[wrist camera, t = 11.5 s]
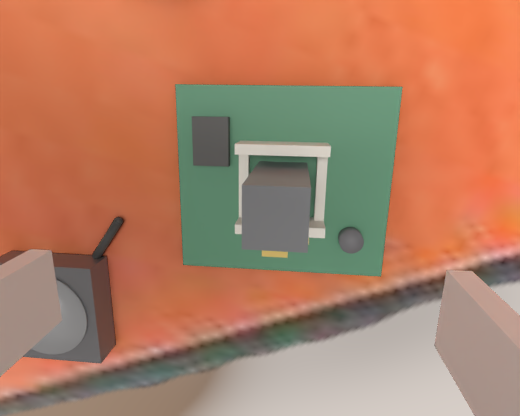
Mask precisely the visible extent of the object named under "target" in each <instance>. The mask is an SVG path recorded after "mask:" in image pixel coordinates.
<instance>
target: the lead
mask: <svg viewBox="0 0 520 416" xmlns="http://www.w3.org/2000/svg"><path fill="white" fill-rule="evenodd" d="M122 223H123V219H122V218H121V217H116V218H115V219H114V221H113V222H112V224H111V226H110V227H109V229H108V230H107V232H106V234H105V235H104V237H103V238H102V240H101V241H100V243H99V245H98V246H97V248H96V249H95V251H94V253H93V254H92V257H93V259H98V258H101V256H102V255H103V253H104V251H105V250H106V248H107V247H108V245H109V244H110V242H111V240H112V239H113V237H114V236H115V234H116V233H117V231H118V229H119V228H120V226H121V225H122Z"/></svg>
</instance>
